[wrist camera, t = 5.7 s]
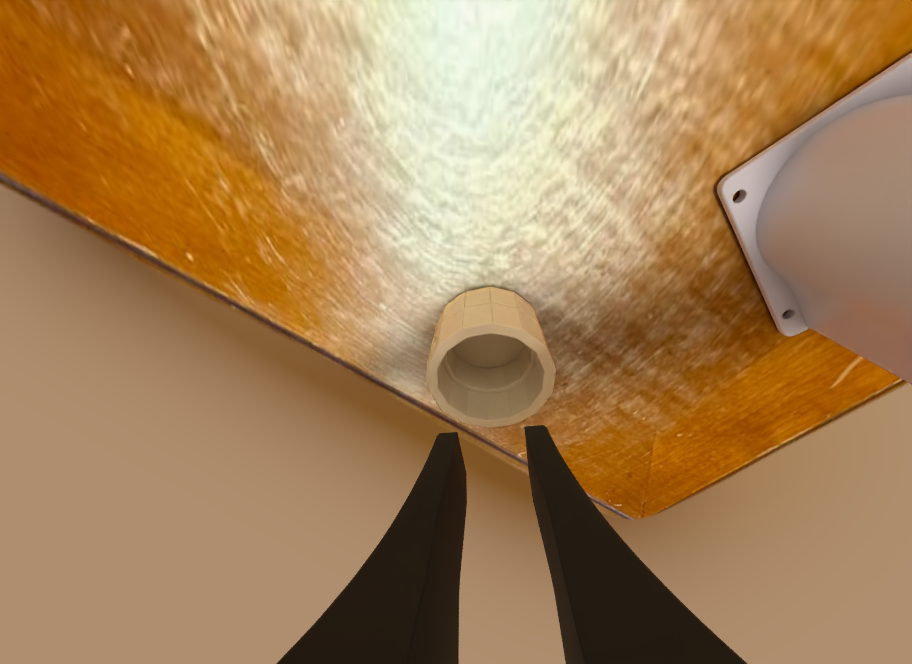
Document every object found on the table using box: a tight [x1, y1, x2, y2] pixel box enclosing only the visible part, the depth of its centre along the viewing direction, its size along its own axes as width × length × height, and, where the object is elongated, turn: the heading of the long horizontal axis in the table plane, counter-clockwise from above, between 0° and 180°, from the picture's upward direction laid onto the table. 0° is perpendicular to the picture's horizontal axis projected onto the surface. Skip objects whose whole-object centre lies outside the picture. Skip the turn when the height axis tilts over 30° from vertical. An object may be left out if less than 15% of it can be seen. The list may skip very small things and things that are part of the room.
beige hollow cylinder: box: [426, 287, 556, 428], centre depth 17 cm, size 6×6×4 cm
